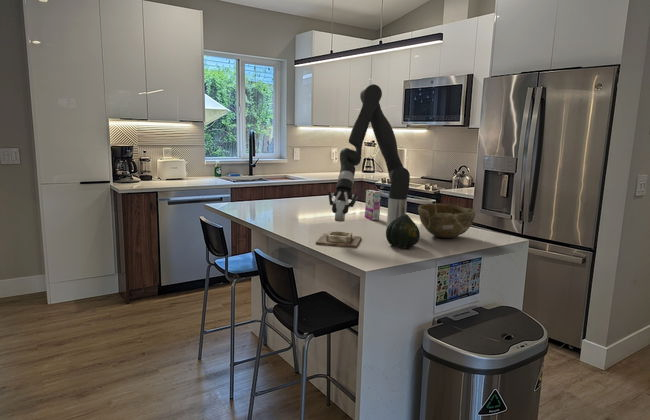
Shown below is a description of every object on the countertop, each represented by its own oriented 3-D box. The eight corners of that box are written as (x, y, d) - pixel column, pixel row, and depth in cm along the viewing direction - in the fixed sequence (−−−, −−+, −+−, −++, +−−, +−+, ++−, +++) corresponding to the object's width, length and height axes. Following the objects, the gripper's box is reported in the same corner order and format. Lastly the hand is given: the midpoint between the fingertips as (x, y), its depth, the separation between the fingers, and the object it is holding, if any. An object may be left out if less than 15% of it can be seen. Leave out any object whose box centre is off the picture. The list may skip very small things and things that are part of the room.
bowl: (460, 247, 202) (463, 214, 199) (406, 237, 218) (408, 206, 215) (480, 237, 224) (483, 208, 221) (430, 228, 240) (432, 201, 237)
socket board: (361, 238, 211) (361, 231, 210) (356, 248, 193) (356, 240, 193) (323, 235, 214) (324, 228, 214) (315, 244, 197) (315, 236, 196)
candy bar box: (379, 220, 257) (381, 192, 254) (371, 220, 255) (373, 192, 252) (372, 216, 267) (373, 189, 264) (364, 217, 266) (365, 189, 263)
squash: (388, 239, 189) (411, 212, 190) (375, 232, 203) (396, 207, 204) (410, 260, 193) (432, 233, 194) (395, 252, 207) (416, 227, 209)
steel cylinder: (345, 220, 204) (346, 200, 202) (343, 222, 200) (344, 202, 198) (335, 219, 205) (336, 199, 203) (333, 221, 201) (335, 201, 199)
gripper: (329, 176, 208) (322, 206, 198) (360, 178, 205) (354, 209, 195) (331, 186, 214) (324, 216, 204) (360, 189, 211) (355, 218, 201)
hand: (339, 212), depth 200 cm, fingers closed on steel cylinder, 4 cm apart
